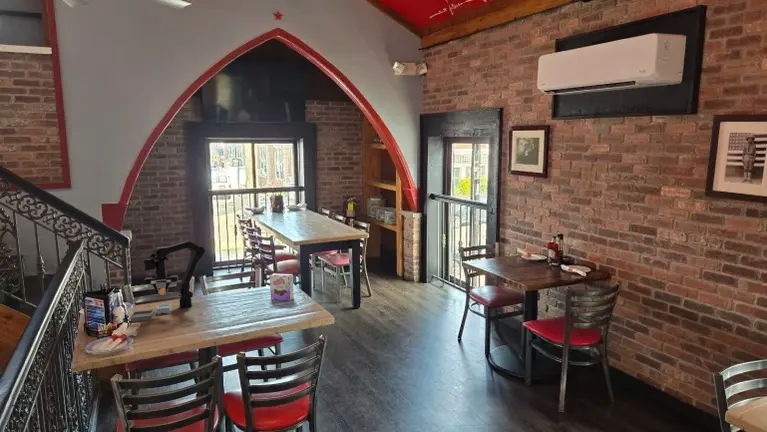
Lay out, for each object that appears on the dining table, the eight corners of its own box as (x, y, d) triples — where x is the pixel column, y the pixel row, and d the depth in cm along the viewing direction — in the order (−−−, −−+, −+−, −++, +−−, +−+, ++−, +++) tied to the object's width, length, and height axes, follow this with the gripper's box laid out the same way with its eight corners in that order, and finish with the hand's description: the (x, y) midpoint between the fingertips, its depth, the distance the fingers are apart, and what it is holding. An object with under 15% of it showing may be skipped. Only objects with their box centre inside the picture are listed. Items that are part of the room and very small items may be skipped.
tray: (155, 313, 318) (154, 309, 318) (151, 319, 307) (151, 315, 307) (133, 315, 315) (133, 311, 315) (129, 321, 304) (129, 317, 304)
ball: (166, 293, 322) (166, 286, 321) (165, 295, 318) (165, 288, 317) (159, 294, 321) (158, 287, 320) (158, 296, 316) (157, 289, 316)
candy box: (270, 300, 339) (269, 275, 337) (275, 297, 345) (273, 272, 343) (290, 301, 335) (288, 276, 333) (294, 298, 341) (292, 273, 339)
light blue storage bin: (171, 309, 325) (170, 304, 324) (169, 313, 318) (169, 307, 318) (158, 310, 323) (158, 305, 323) (156, 314, 316) (156, 308, 316)
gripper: (178, 264, 327) (180, 288, 329) (146, 266, 322) (148, 291, 324) (176, 268, 316) (178, 293, 318) (142, 270, 312) (144, 296, 314)
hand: (162, 293), depth 319 cm, fingers closed on ball, 4 cm apart
